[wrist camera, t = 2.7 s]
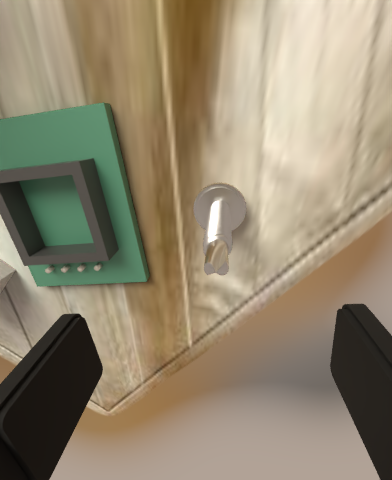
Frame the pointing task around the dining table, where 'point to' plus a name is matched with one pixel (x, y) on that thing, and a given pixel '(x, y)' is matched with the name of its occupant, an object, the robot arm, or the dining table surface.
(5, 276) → the tea bag
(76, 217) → the board
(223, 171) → the dining table surface
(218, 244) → the screw
